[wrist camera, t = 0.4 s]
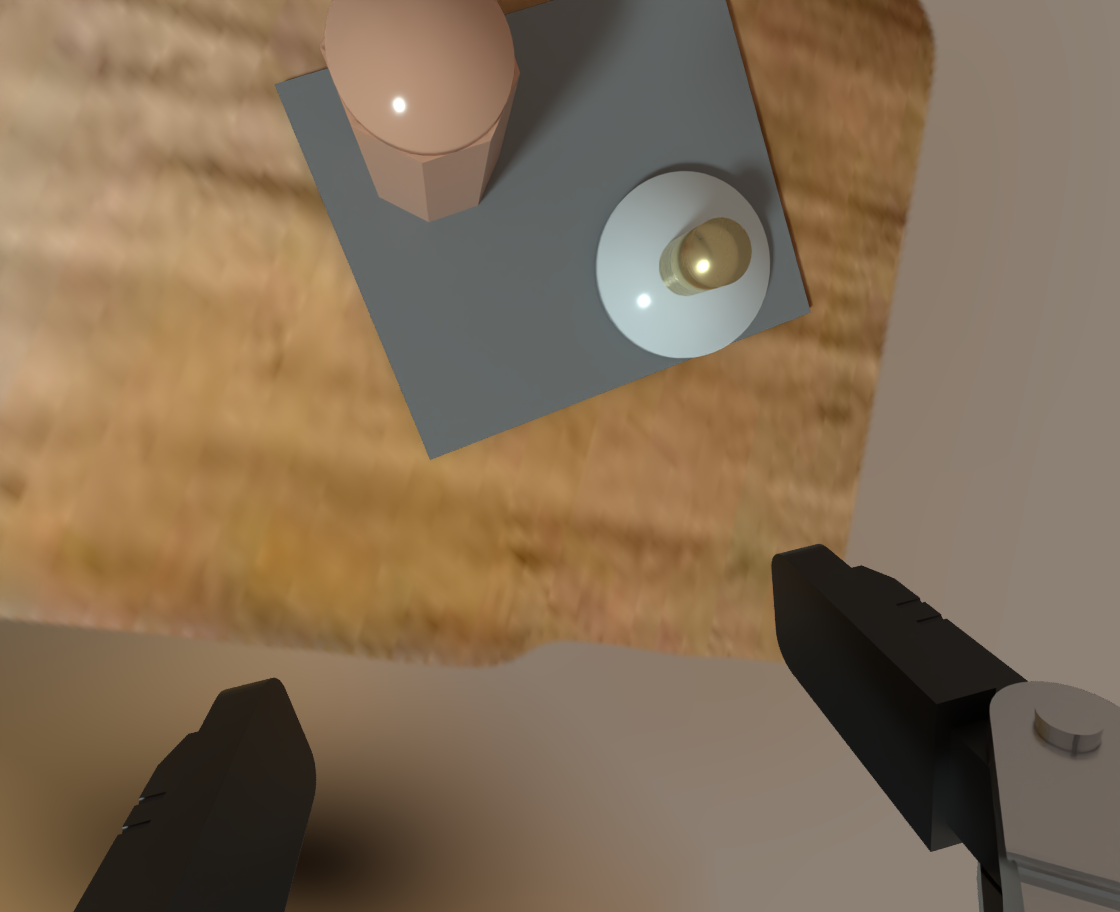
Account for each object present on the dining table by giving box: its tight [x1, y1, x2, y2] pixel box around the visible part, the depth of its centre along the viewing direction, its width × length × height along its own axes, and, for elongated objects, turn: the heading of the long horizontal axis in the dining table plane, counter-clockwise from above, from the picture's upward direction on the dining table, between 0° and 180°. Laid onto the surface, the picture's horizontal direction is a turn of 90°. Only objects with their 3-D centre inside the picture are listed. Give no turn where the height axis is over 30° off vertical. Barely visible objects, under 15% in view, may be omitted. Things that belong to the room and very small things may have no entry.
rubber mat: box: [275, 0, 810, 460], centre depth 34 cm, size 20×24×1 cm
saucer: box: [594, 171, 770, 358], centre depth 35 cm, size 10×10×1 cm
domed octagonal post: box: [320, 0, 520, 222], centre depth 27 cm, size 7×7×10 cm
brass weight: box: [659, 217, 752, 296], centre depth 32 cm, size 3×3×4 cm
